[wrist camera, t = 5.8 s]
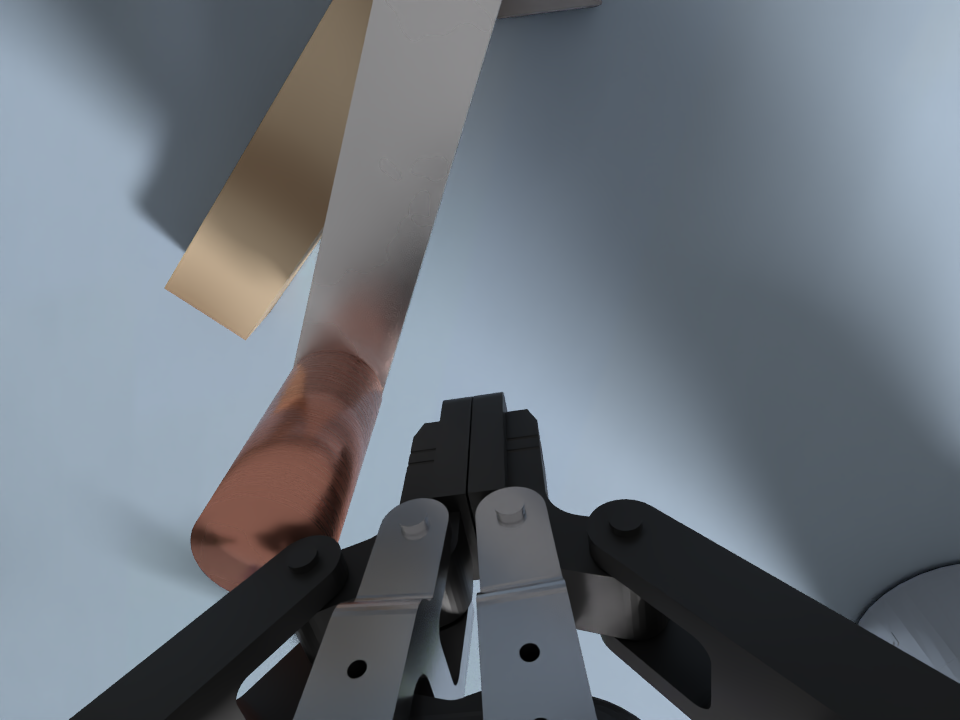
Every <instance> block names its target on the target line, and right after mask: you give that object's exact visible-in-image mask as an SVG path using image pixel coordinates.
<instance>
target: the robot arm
mask: <svg viewBox="0 0 960 720" xmlns="http://www.w3.org/2000/svg"><path fill="white" fill-rule="evenodd" d="M408 465H409V466H408V467H407V472H406V476H405V481H404V486H403V491H402V496H401V500H400V505H398V506H396V507H395V508H393V509H392V510H391V511H390V512H389V513H388V514H387V515H386V516H385V518H384V519H383V521H382V523H381V525H380V528H379V531H378V534H377V535H376V536H374V537H372V538H371V539H368V540H366V541H363V542H361V543H358V544H355V545H353V546H350V547H347V548H345V549H342V550H341V548H340V546H339V544H338V542H337V541H336V540H335V539H333V538H331V537H329V536H324V535H315V536H309V537H306V538H302V539H300V540H298V541H296V542H294V543H292V544H290V545H289V546H287V547H286V548H285V549H283V550H282V551H281V552H280V553H278V554H277V555H276V556H274V557H273V558H272V559H271V560H269V561H268V562H267V563H266V564H264V565H263V566H262V567H261V568H259V569H258V570H257V571H256V572H254V573H253V574H252V575H251V576H249V577H248V578H247V579H246V580H244V581H243V582H242V583H240V584H239V585H238V586H237V587H235V588H234V589H233V590H232V591H230V592H229V593H228V594H227V595H225V596H224V597H223V598H222V599H220V600H219V601H218V602H217V603H215V604H214V605H213V606H212V607H210V608H209V609H208V610H206V611H205V612H204V613H203V614H201V615H200V616H199V617H198V618H196V619H195V620H194V621H193V622H191V623H190V624H189V625H188V626H186V627H185V628H184V629H183V630H181V631H180V632H179V633H177V634H176V635H175V636H174V637H172V638H171V639H170V640H169V641H167V642H166V643H165V644H164V645H162V646H161V647H160V648H159V649H157V650H156V651H155V652H154V653H152V654H151V655H150V656H149V657H147V658H146V659H145V660H143V661H142V662H141V663H140V664H138V665H137V666H136V667H135V668H133V669H132V670H131V671H130V672H128V673H127V674H126V675H125V676H123V677H122V678H121V679H120V680H118V681H117V682H116V683H115V684H113V685H112V686H111V687H109V688H108V689H107V690H106V691H104V692H103V693H102V694H101V695H99V696H98V697H97V698H96V699H94V700H93V701H92V702H91V703H89V704H88V705H87V706H86V707H84V708H83V709H82V710H81V711H79V712H78V713H77V714H75V715H74V716H73V717H72V718H70V719H69V720H640V719H639V718H638V717H636V716H635V715H633V714H631V713H630V712H628V711H626V710H625V709H623V708H621V707H619V706H617V705H615V704H613V703H610V702H608V701H605V700H602V699H599V698H596V697H593V696H592V695H591V691H590V686H589V682H588V678H587V674H586V669H585V665H584V661H583V656H582V652H581V648H580V643H579V639H578V635H577V630H576V629H579V630H584V631H588V632H593V633H598V634H600V635H601V637H602V640H603V642H604V643H605V644H606V646H607V647H608V648H609V649H610V650H611V651H612V652H613V653H615V654H616V655H617V656H618V657H619V658H620V659H622V660H623V661H624V662H625V663H626V664H627V665H629V666H630V667H631V668H632V669H633V670H634V671H636V672H637V673H638V674H639V675H640V676H641V677H642V678H644V679H645V680H646V681H647V682H648V683H649V684H651V685H652V686H653V687H654V688H655V689H656V690H658V691H659V692H660V693H661V694H662V695H663V696H665V697H666V698H667V699H668V700H669V701H670V702H672V703H673V704H674V705H675V706H676V707H677V708H679V709H680V710H681V711H682V712H683V713H684V714H685V715H687V716H688V717H689V718H690V719H691V720H960V564H957V565H952V566H947V567H942V568H938V569H935V570H932V571H929V572H926V573H923V574H920V575H918V576H916V577H914V578H912V579H910V580H908V581H906V582H904V583H901V584H899V585H898V586H896V587H895V588H893V589H892V590H890V591H889V592H887V593H886V594H884V595H883V596H882V597H881V598H880V599H879V600H877V601H876V602H875V603H874V604H873V605H872V606H871V607H870V608H869V609H868V610H867V612H866V613H865V614H864V616H863V617H862V618H861V620H860V621H859V623H858V625H857V624H855V623H854V622H852V621H850V620H849V619H847V618H845V617H843V616H842V615H840V614H838V613H836V612H835V611H833V610H831V609H829V608H828V607H826V606H824V605H822V604H821V603H819V602H817V601H816V600H814V599H812V598H810V597H809V596H807V595H805V594H803V593H802V592H800V591H798V590H796V589H795V588H793V587H791V586H789V585H788V584H786V583H784V582H782V581H781V580H779V579H777V578H776V577H774V576H772V575H770V574H769V573H767V572H765V571H763V570H762V569H760V568H758V567H756V566H755V565H753V564H751V563H749V562H748V561H746V560H744V559H742V558H741V557H739V556H737V555H736V554H734V553H732V552H730V551H729V550H727V549H725V548H723V547H722V546H720V545H718V544H716V543H715V542H713V541H711V540H709V539H708V538H706V537H704V536H703V535H701V534H699V533H697V532H696V531H694V530H692V529H690V528H689V527H687V526H685V525H683V524H682V523H680V522H678V521H676V520H675V519H673V518H671V517H669V516H668V515H666V514H664V513H663V512H661V511H659V510H657V509H656V508H654V507H652V506H650V505H648V504H646V503H643V502H640V501H636V500H628V499H622V500H614V501H610V502H607V503H605V504H603V505H601V506H599V507H598V508H596V509H595V510H594V511H593V512H592V513H591V515H590V516H589V517H588V516H580V515H574V514H570V513H567V512H564V511H562V510H560V509H559V508H557V507H556V506H554V505H553V504H552V503H551V502H550V500H549V499H548V490H547V482H546V474H545V467H544V461H543V454H542V448H541V442H540V435H539V429H538V423H537V420H536V419H535V417H534V416H533V415H532V414H531V413H530V412H529V411H528V410H527V409H525V410H518V411H510V412H507V407H506V402H505V397H504V393H503V392H499V393H492V394H485V395H478V396H474V397H465V398H458V399H451V400H444V401H443V403H442V410H441V417H440V421H439V422H432V423H425V424H424V425H423V426H422V427H421V429H420V430H419V431H418V432H417V434H416V435H415V436H414V438H413V443H412V447H411V454H410V457H409V462H408ZM479 579H480V592H479V593H477V597H476V604H477V622H478V639H479V655H480V672H481V689H482V691H480V692H477V693H474V694H471V695H468V696H466V697H464V693H465V685H466V677H467V668H468V660H469V652H470V644H471V636H472V628H473V620H474V607H473V603H472V594H473V580H479ZM294 633H296V635H297V637H298V639H299V641H300V643H299V644H297V645H296V646H295V647H294V648H293V649H292V650H291V651H290V652H289V653H288V654H287V655H286V656H285V657H284V658H282V659H281V660H280V661H279V662H278V663H277V664H276V665H275V666H274V667H273V668H272V669H271V670H270V671H269V672H267V673H266V674H265V675H264V676H263V677H262V678H261V679H260V680H259V681H258V682H257V683H256V684H255V685H254V686H252V687H251V688H250V689H249V690H248V691H247V692H246V693H245V694H244V695H243V696H241V697H240V698H239V699H237V700H236V696H237V693H238V690H239V688H240V686H241V684H242V683H243V681H244V680H245V679H246V678H247V677H248V676H249V675H250V674H251V673H252V672H253V671H254V670H255V669H256V668H257V667H258V666H260V665H261V664H262V663H263V662H264V661H265V660H266V659H267V658H268V657H269V656H270V655H272V654H273V653H274V652H275V651H276V650H277V649H278V648H279V647H280V646H281V645H282V644H284V643H285V642H286V641H287V640H288V639H289V638H290V637H291V636H292V635H293V634H294Z"/></svg>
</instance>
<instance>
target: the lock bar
mask: <svg viewBox="0 0 960 720" xmlns="http://www.w3.org/2000/svg"><path fill="white" fill-rule="evenodd" d="M501 3H502V0H373V3H372V8H371V12H370V17H369V22H368V26H367V31H366V35H365V40H364V45H363V49H362V54H361V58H360V63H359V68H358V72H357V77H356V81H355V86H354V91H353V95H352V100H351V105H350V109H349V114H348V118H347V123H346V128H345V132H344V137H343V141H342V146H341V151H340V155H339V160H338V164H337V169H336V174H335V178H334V183H333V187H332V192H331V197H330V201H329V206H328V211H327V215H326V220H325V224H324V229H323V234H322V238H321V243H320V247H319V252H318V257H317V261H316V266H315V270H314V275H313V280H312V284H311V289H310V293H309V298H308V303H307V307H306V312H305V316H304V321H303V326H302V330H301V335H300V340H299V344H298V349H297V353H296V358H295V363H294V367H293V369H292V371H291V373H290V374H289V376H288V377H287V379H286V380H285V382H284V384H283V385H282V387H281V388H280V390H279V392H278V393H277V395H276V396H275V398H274V399H273V401H272V403H271V404H270V406H269V407H268V409H267V411H266V412H265V414H264V415H263V417H262V418H261V420H260V422H259V423H258V425H257V426H256V428H255V430H254V431H253V433H252V434H251V436H250V437H249V439H248V441H247V442H246V444H245V445H244V447H243V449H242V450H241V452H240V453H239V455H238V456H237V458H236V460H235V461H234V463H233V464H232V466H231V468H230V469H229V471H228V472H227V474H226V476H225V477H224V479H223V480H222V482H221V483H220V485H219V487H218V488H217V490H216V491H215V493H214V495H213V496H212V498H211V499H210V501H209V502H208V504H207V506H206V507H205V509H204V510H203V512H202V514H201V515H200V517H199V518H198V520H197V521H196V523H195V525H194V527H193V529H192V533H191V550H192V553H193V556H194V558H195V560H196V562H197V564H198V565H199V567H200V568H201V570H202V571H203V572H204V573H205V574H206V575H207V576H208V577H209V578H210V579H211V580H212V581H214V582H215V583H216V584H218V585H219V586H221V587H222V588H224V589H226V590H227V591H232V590H233V589H234V588H235V587H237V586H238V585H239V584H240V583H242V582H243V581H244V580H246V579H247V578H248V577H249V576H251V575H252V574H253V573H254V572H256V571H257V570H258V569H259V568H261V567H262V566H263V565H264V564H266V563H267V562H268V561H269V560H271V559H272V558H273V557H274V556H276V555H277V554H278V553H280V552H281V551H282V550H283V549H285V548H286V547H287V546H289V545H290V544H292V543H294V542H296V541H298V540H300V539H302V538H306V537H309V536H315V535H324V536H329V537H331V538H333V539H335V540H336V541H337V542H338V541H339V538H340V534H341V531H342V528H343V525H344V522H345V518H346V515H347V512H348V509H349V505H350V502H351V499H352V496H353V493H354V489H355V486H356V483H357V480H358V476H359V473H360V470H361V467H362V463H363V460H364V457H365V454H366V451H367V447H368V444H369V441H370V438H371V434H372V431H373V428H374V425H375V422H376V418H377V415H378V412H379V409H380V405H381V401H382V393H383V390H384V387H385V384H386V380H387V377H388V374H389V371H390V368H391V365H392V361H393V358H394V355H395V352H396V349H397V345H398V342H399V339H400V335H401V332H402V329H403V325H404V322H405V319H406V316H407V312H408V309H409V306H410V302H411V299H412V296H413V293H414V289H415V286H416V283H417V279H418V276H419V273H420V269H421V266H422V263H423V260H424V256H425V253H426V250H427V246H428V243H429V240H430V237H431V233H432V230H433V227H434V223H435V220H436V217H437V213H438V210H439V207H440V204H441V200H442V197H443V194H444V190H445V187H446V184H447V181H448V177H449V174H450V171H451V167H452V164H453V161H454V157H455V154H456V151H457V148H458V144H459V141H460V138H461V134H462V131H463V128H464V125H465V121H466V118H467V115H468V111H469V108H470V105H471V101H472V98H473V95H474V92H475V88H476V85H477V82H478V78H479V75H480V72H481V69H482V65H483V62H484V59H485V55H486V52H487V49H488V45H489V42H490V39H491V36H492V32H493V29H494V26H495V22H496V19H497V16H498V13H499V9H500V6H501Z"/></svg>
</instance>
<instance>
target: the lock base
mask: <svg viewBox="0 0 960 720" xmlns="http://www.w3.org/2000/svg"><path fill="white" fill-rule="evenodd" d="M372 3H373V0H333V1H332V2H331V4H330V6H329V7H328V9H327V11H326V13H325V14H324V16H323V18H322V19H321V21H320V23H319V25H318V26H317V28H316V30H315V31H314V33H313V35H312V36H311V38H310V40H309V42H308V43H307V45H306V47H305V48H304V50H303V52H302V54H301V55H300V57H299V59H298V60H297V62H296V64H295V66H294V67H293V69H292V71H291V72H290V74H289V76H288V78H287V79H286V81H285V83H284V84H283V86H282V88H281V90H280V91H279V93H278V95H277V96H276V98H275V100H274V101H273V103H272V105H271V107H270V108H269V110H268V112H267V113H266V115H265V117H264V119H263V120H262V122H261V124H260V125H259V127H258V129H257V131H256V132H255V134H254V136H253V137H252V139H251V141H250V143H249V144H248V146H247V148H246V149H245V151H244V153H243V154H242V156H241V158H240V160H239V161H238V163H237V165H236V166H235V168H234V170H233V172H232V173H231V175H230V177H229V178H228V180H227V182H226V184H225V185H224V187H223V189H222V190H221V192H220V194H219V196H218V197H217V199H216V201H215V202H214V204H213V206H212V208H211V209H210V211H209V213H208V214H207V216H206V218H205V219H204V221H203V223H202V225H201V226H200V228H199V230H198V231H197V233H196V235H195V237H194V238H193V240H192V242H191V243H190V245H189V247H188V249H187V250H186V252H185V254H184V255H183V257H182V259H181V261H180V262H179V264H178V266H177V267H176V269H175V271H174V272H173V274H172V276H171V278H170V279H169V281H168V283H167V284H166V286H165V289H166V290H168V291H169V292H171V293H173V294H174V295H176V296H177V297H179V298H180V299H182V300H184V301H185V302H187V303H188V304H190V305H191V306H193V307H194V308H196V309H198V310H199V311H201V312H202V313H204V314H205V315H207V316H209V317H210V318H212V319H213V320H215V321H216V322H218V323H219V324H221V325H223V326H224V327H226V328H227V329H229V330H230V331H232V332H234V333H235V334H237V335H238V336H240V337H241V338H243V339H244V340H246V339H247V338H248V337H249V336H250V335H251V334H252V332H253V331H254V330H255V329H256V328H257V327H258V325H259V324H260V323H261V322H262V321H263V320H264V319H265V317H266V316H267V315H268V314H269V313H270V311H271V310H272V308H273V307H274V306H275V304H276V303H277V301H278V300H279V298H280V297H281V295H282V294H283V292H284V291H285V290H286V288H287V287H288V285H289V284H290V282H291V281H292V279H293V278H294V276H295V275H296V274H297V272H298V271H299V269H300V268H301V266H302V265H303V263H304V262H305V260H306V259H307V258H308V256H309V255H310V253H311V252H312V250H313V249H314V247H315V246H316V244H317V243H318V242H319V240H320V239H321V237H322V234H323V229H324V224H325V220H326V215H327V211H328V206H329V201H330V197H331V192H332V187H333V183H334V178H335V174H336V169H337V164H338V160H339V155H340V151H341V146H342V141H343V137H344V132H345V128H346V123H347V118H348V114H349V109H350V105H351V100H352V95H353V91H354V86H355V81H356V77H357V72H358V68H359V63H360V58H361V54H362V49H363V45H364V40H365V35H366V31H367V26H368V22H369V17H370V12H371V8H372ZM601 4H602V0H502V3H501V6H500V9H499V13H498V16H497V19H502V18H509V17H517V16H525V15H533V14H541V13H549V12H556V11H564V10H572V9H580V8H588V7H596V6H599V5H601Z"/></svg>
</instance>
